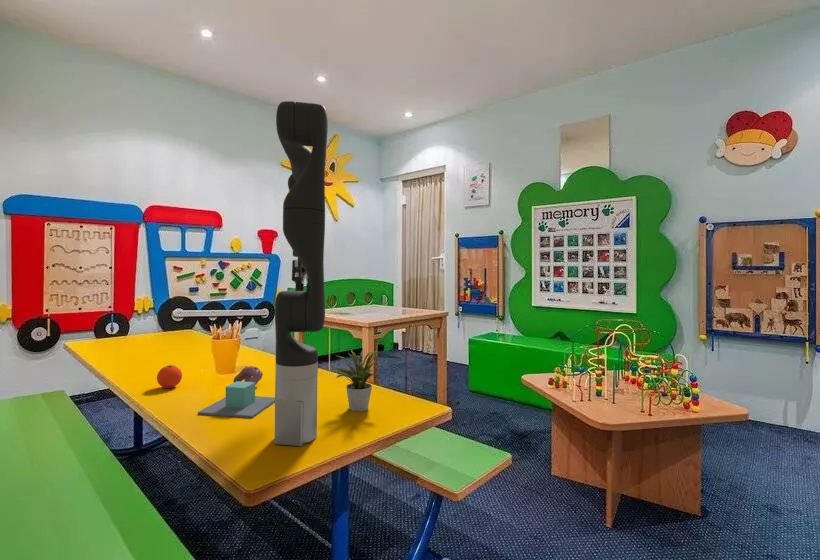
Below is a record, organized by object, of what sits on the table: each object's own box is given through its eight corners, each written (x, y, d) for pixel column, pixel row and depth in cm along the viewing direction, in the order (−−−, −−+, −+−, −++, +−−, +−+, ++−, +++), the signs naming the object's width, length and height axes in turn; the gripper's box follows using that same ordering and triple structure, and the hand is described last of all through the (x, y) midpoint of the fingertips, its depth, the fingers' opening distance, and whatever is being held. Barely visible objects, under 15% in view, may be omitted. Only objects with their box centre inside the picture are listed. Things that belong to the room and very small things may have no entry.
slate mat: (252, 418, 106) (252, 415, 106) (197, 414, 108) (197, 412, 108) (278, 399, 121) (278, 397, 121) (230, 396, 123) (230, 394, 123)
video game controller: (258, 392, 133) (267, 371, 135) (246, 388, 129) (255, 366, 132) (243, 386, 139) (252, 365, 141) (231, 382, 136) (240, 361, 138)
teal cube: (244, 408, 111) (244, 387, 111) (225, 407, 112) (225, 386, 112) (255, 401, 117) (255, 382, 116) (236, 400, 117) (236, 381, 117)
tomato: (156, 385, 133) (156, 363, 132) (181, 382, 136) (181, 361, 136) (156, 392, 126) (156, 368, 126) (182, 388, 129) (182, 366, 129)
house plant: (354, 395, 126) (355, 342, 125) (394, 403, 119) (395, 347, 119) (323, 409, 113) (324, 349, 113) (365, 419, 107) (366, 355, 106)
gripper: (309, 239, 117) (308, 297, 117) (325, 242, 131) (325, 294, 131) (283, 239, 117) (282, 296, 118) (302, 242, 132) (302, 293, 132)
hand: (305, 295), depth 125 cm, fingers open, 8 cm apart
